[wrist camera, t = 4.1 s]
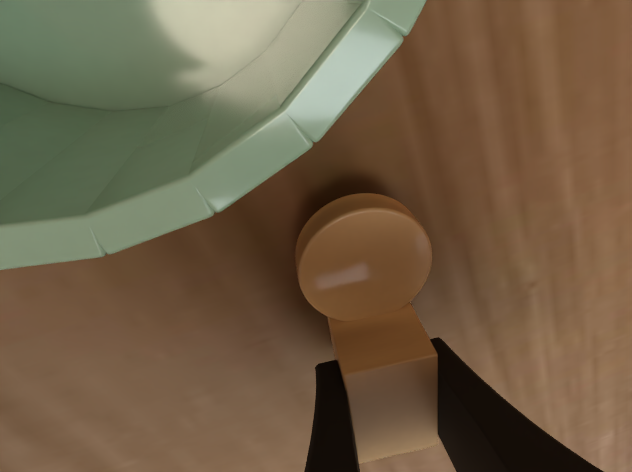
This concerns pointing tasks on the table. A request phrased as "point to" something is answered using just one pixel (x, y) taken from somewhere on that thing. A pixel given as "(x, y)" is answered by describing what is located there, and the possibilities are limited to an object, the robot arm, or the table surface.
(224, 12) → the green round bowl
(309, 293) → the wooden block with disc
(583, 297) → the table surface
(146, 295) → the table surface
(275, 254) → the table surface
